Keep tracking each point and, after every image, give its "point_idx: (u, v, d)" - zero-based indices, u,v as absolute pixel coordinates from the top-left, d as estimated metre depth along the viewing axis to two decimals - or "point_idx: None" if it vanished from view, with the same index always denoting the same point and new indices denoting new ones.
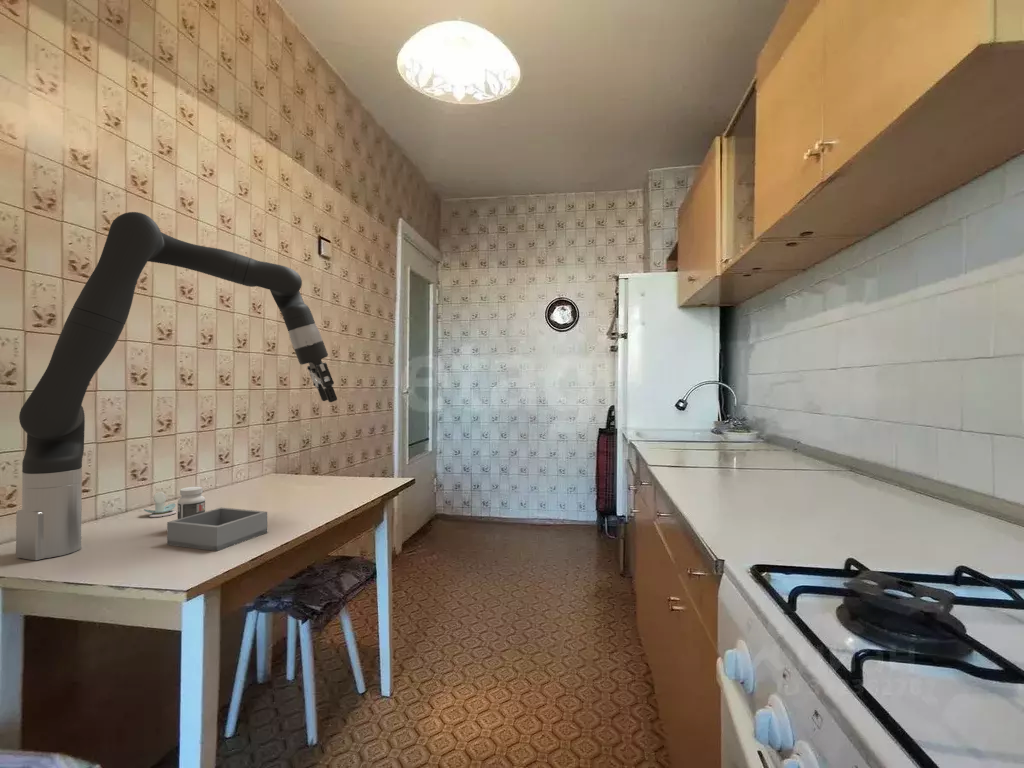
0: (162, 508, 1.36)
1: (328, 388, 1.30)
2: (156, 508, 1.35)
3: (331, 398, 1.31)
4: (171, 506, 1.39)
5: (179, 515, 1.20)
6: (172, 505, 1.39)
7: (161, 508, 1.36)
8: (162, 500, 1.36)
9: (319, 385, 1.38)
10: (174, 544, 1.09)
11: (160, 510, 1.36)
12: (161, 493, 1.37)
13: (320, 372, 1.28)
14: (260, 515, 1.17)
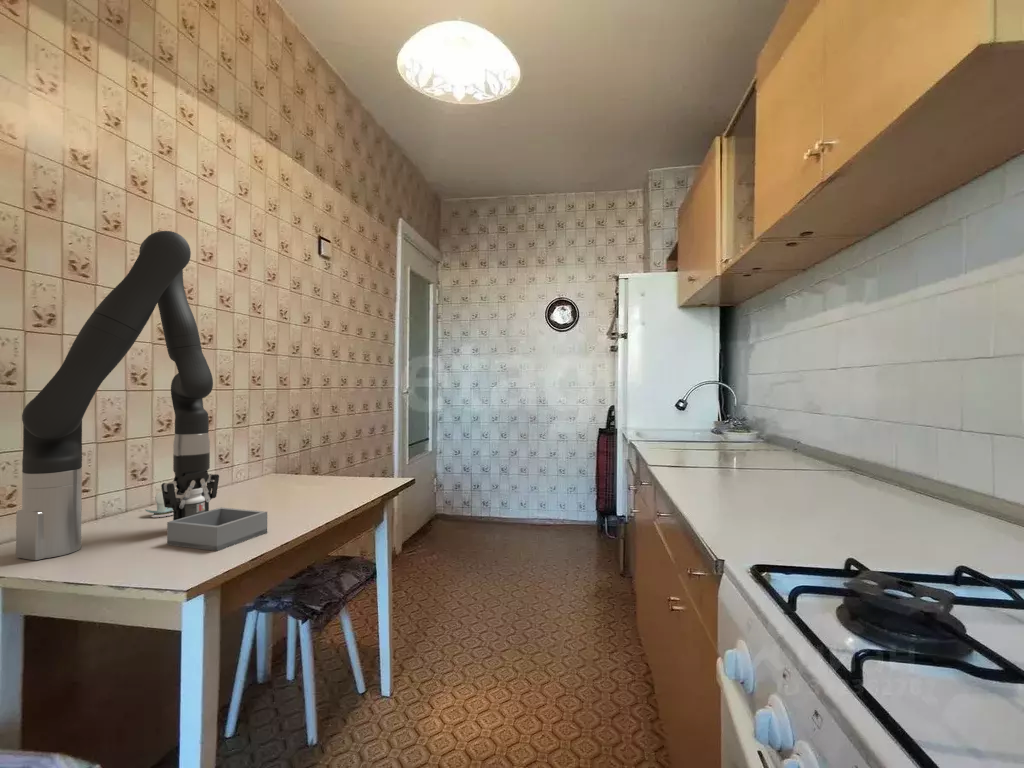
0: (164, 508, 1.36)
1: (174, 509, 1.18)
2: (158, 508, 1.35)
3: None
4: None
5: None
6: None
7: (163, 508, 1.36)
8: None
9: None
10: (174, 544, 1.09)
11: (162, 510, 1.36)
12: None
13: (163, 492, 1.16)
14: (260, 515, 1.17)
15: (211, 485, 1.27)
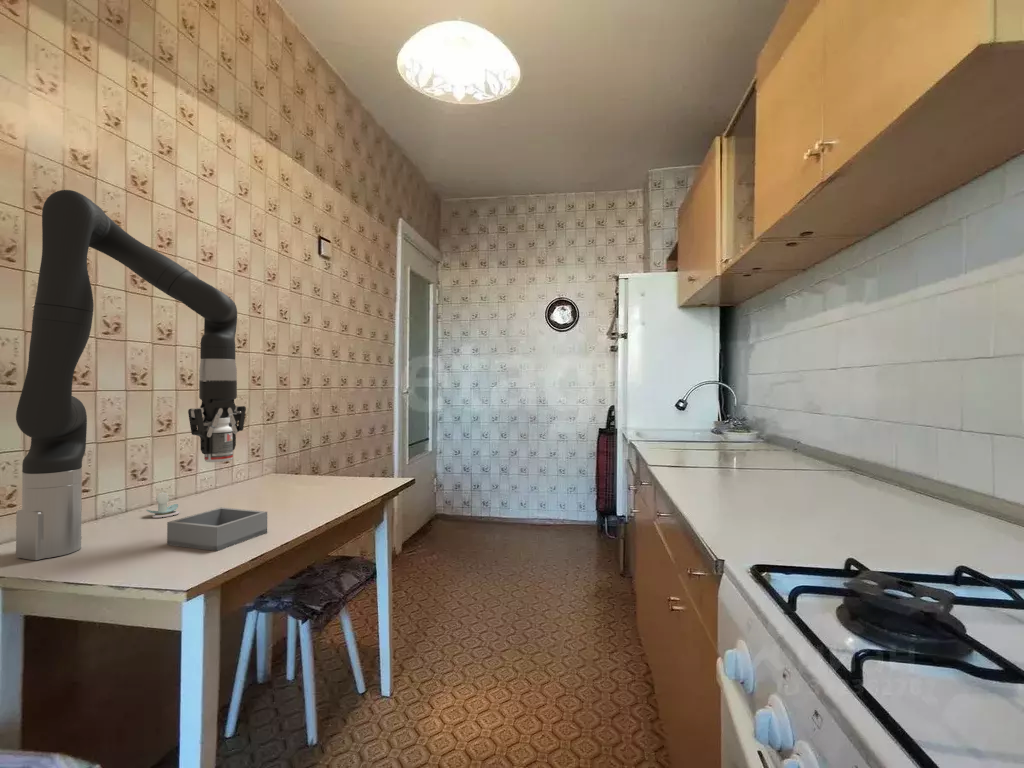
0: (165, 509, 1.36)
1: (201, 437, 1.12)
2: (159, 509, 1.35)
3: (202, 449, 1.12)
4: (174, 507, 1.38)
5: None
6: (175, 506, 1.38)
7: (164, 509, 1.36)
8: (165, 501, 1.36)
9: None
10: (174, 544, 1.09)
11: (163, 511, 1.35)
12: (164, 493, 1.36)
13: (190, 418, 1.10)
14: (260, 515, 1.17)
15: (238, 417, 1.21)
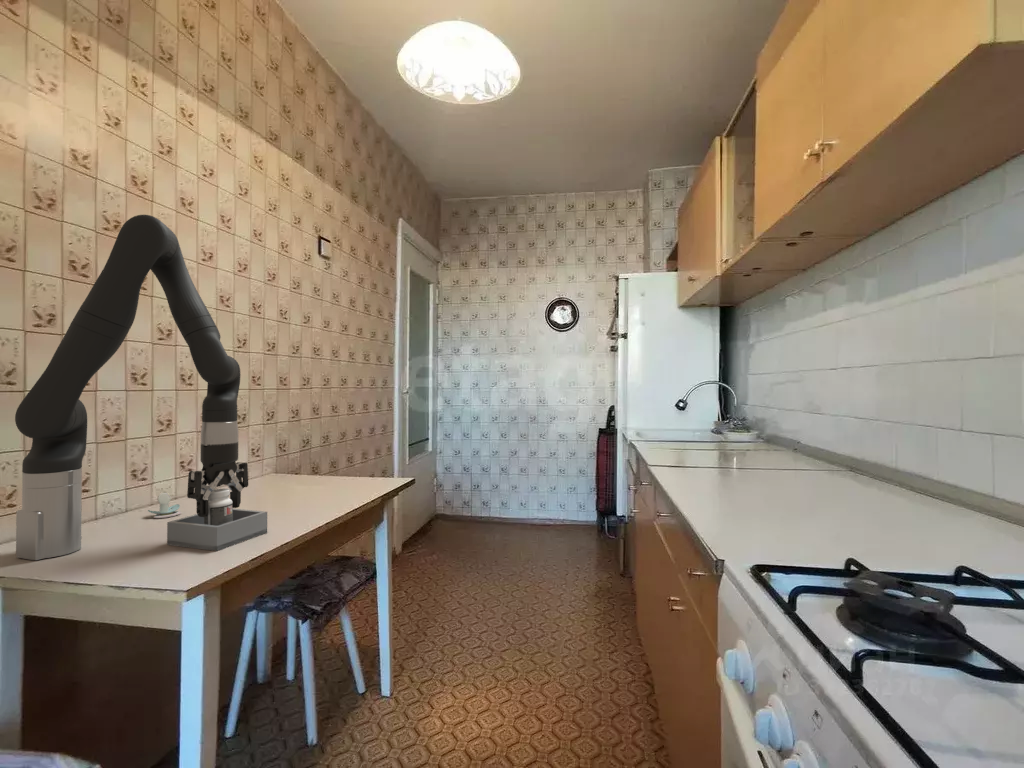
0: (166, 509, 1.35)
1: (197, 500, 1.10)
2: (160, 509, 1.34)
3: (198, 512, 1.10)
4: (175, 507, 1.38)
5: (206, 519, 1.12)
6: (176, 506, 1.38)
7: (165, 509, 1.35)
8: (166, 501, 1.35)
9: (233, 488, 1.19)
10: (174, 544, 1.09)
11: (164, 511, 1.35)
12: (165, 494, 1.36)
13: (189, 480, 1.08)
14: (260, 515, 1.17)
15: (241, 474, 1.20)
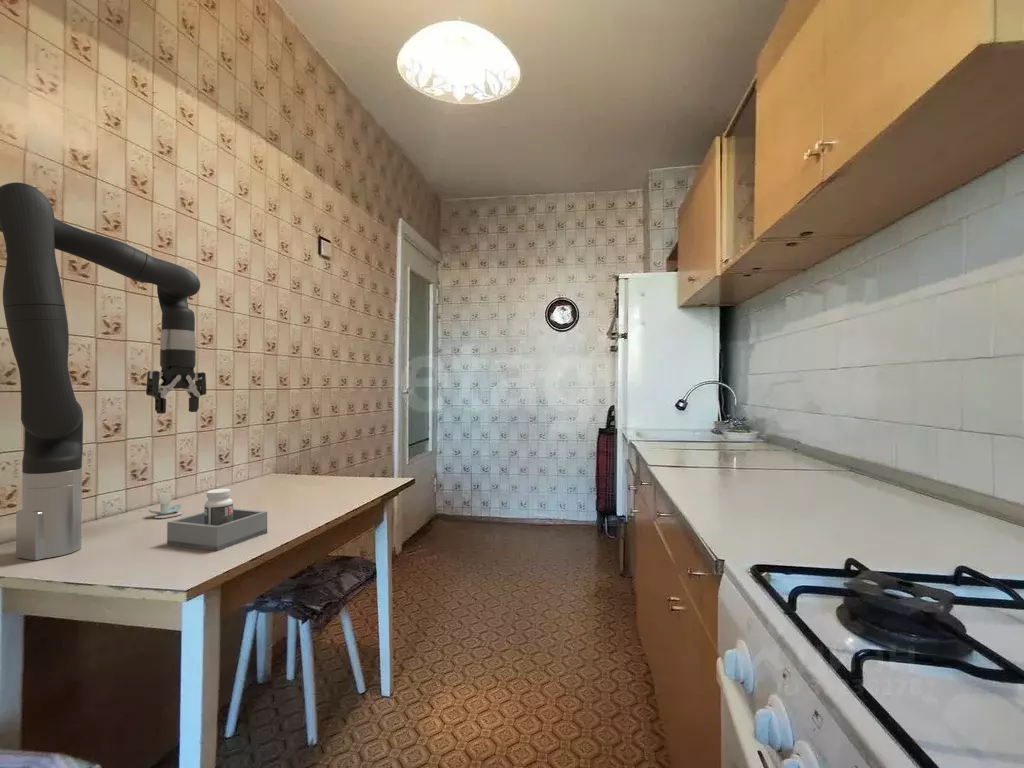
0: (167, 509, 1.35)
1: (156, 398, 1.22)
2: (161, 509, 1.34)
3: (156, 409, 1.22)
4: (176, 507, 1.37)
5: (206, 519, 1.12)
6: (177, 506, 1.38)
7: (166, 509, 1.35)
8: (167, 501, 1.35)
9: (191, 394, 1.31)
10: (174, 544, 1.09)
11: (165, 511, 1.35)
12: (166, 494, 1.35)
13: (148, 379, 1.21)
14: (260, 515, 1.17)
15: (199, 383, 1.32)
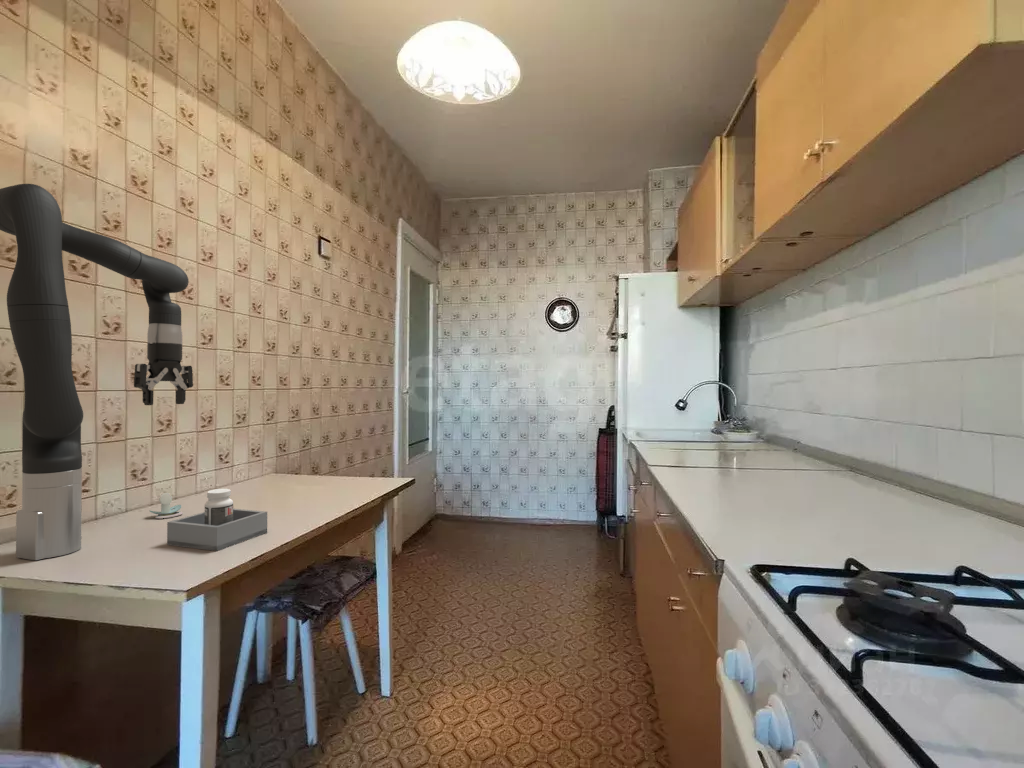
0: (168, 509, 1.35)
1: (143, 390, 1.25)
2: (162, 509, 1.34)
3: (143, 401, 1.25)
4: (177, 507, 1.37)
5: (207, 519, 1.12)
6: (178, 506, 1.37)
7: (167, 509, 1.35)
8: (168, 501, 1.35)
9: (178, 387, 1.35)
10: (174, 544, 1.09)
11: (166, 511, 1.34)
12: (167, 494, 1.35)
13: (135, 371, 1.24)
14: (260, 515, 1.17)
15: (186, 376, 1.36)
